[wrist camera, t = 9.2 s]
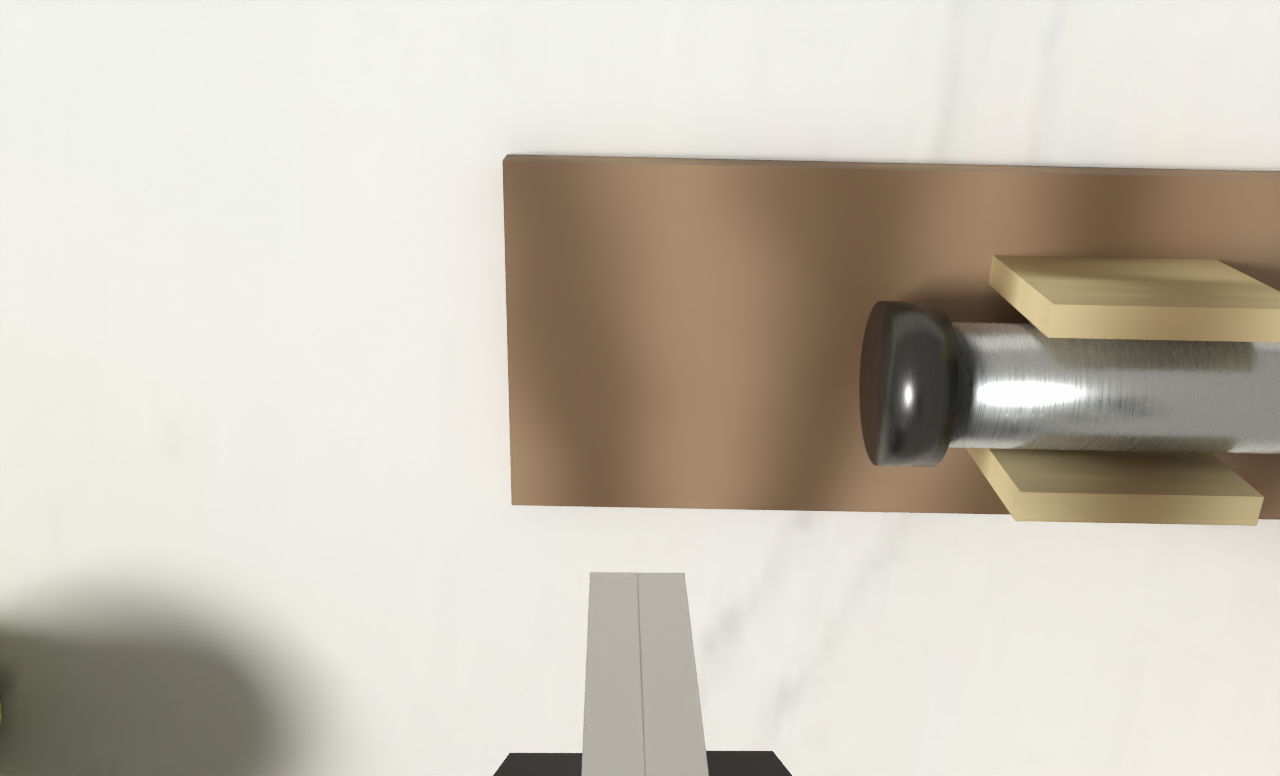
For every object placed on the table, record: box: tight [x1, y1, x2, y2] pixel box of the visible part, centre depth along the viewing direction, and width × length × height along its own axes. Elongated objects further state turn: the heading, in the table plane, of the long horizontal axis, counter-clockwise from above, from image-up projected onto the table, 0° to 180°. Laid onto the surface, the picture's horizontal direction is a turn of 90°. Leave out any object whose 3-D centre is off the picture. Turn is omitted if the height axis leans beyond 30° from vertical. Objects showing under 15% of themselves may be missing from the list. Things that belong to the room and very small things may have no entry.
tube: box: [859, 301, 1280, 467], centre depth 27 cm, size 18×4×4 cm, turn 89°
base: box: [503, 155, 1280, 526], centre depth 26 cm, size 30×10×8 cm, turn 89°
